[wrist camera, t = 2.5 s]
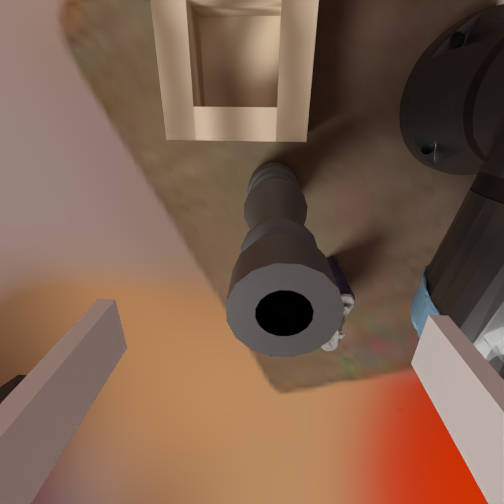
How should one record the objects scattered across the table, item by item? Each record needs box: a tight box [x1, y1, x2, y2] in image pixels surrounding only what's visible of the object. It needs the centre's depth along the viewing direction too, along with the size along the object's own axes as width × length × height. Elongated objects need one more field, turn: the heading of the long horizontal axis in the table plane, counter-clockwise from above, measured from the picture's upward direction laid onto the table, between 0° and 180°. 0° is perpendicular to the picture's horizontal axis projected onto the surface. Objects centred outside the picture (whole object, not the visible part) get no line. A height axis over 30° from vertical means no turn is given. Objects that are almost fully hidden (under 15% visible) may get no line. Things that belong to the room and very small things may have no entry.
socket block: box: [150, 0, 319, 142], centre depth 28 cm, size 14×14×6 cm
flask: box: [321, 257, 355, 351], centre depth 37 cm, size 9×3×11 cm, turn 172°
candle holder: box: [226, 162, 345, 357], centre depth 25 cm, size 6×6×25 cm
